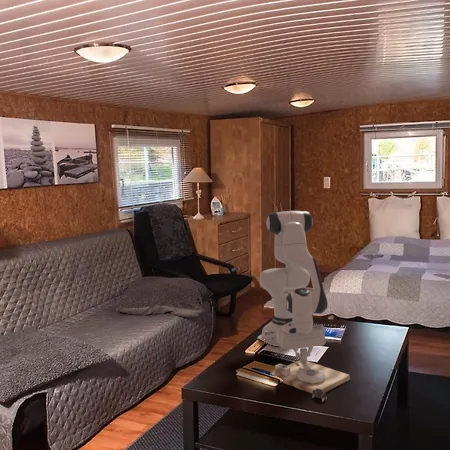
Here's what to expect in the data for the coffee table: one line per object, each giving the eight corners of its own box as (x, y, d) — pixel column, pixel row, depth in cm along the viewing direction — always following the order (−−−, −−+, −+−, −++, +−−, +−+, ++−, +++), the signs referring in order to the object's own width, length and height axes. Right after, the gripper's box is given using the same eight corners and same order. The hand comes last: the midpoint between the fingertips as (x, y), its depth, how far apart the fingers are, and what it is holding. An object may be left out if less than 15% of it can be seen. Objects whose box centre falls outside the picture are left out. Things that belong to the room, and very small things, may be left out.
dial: (329, 382, 215) (329, 361, 214) (301, 384, 213) (301, 363, 212) (314, 364, 234) (314, 345, 233) (288, 366, 233) (288, 347, 232)
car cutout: (307, 400, 206) (307, 389, 205) (316, 394, 210) (316, 384, 210) (340, 412, 195) (340, 400, 195) (349, 406, 200) (349, 394, 200)
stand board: (269, 377, 227) (269, 364, 226) (301, 363, 242) (301, 351, 241) (318, 396, 208) (318, 381, 207) (349, 379, 223) (350, 366, 222)
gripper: (321, 321, 233) (321, 351, 235) (278, 326, 228) (278, 356, 230) (327, 325, 227) (327, 356, 229) (283, 330, 222) (283, 362, 224)
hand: (302, 356), depth 229 cm, fingers open, 3 cm apart
